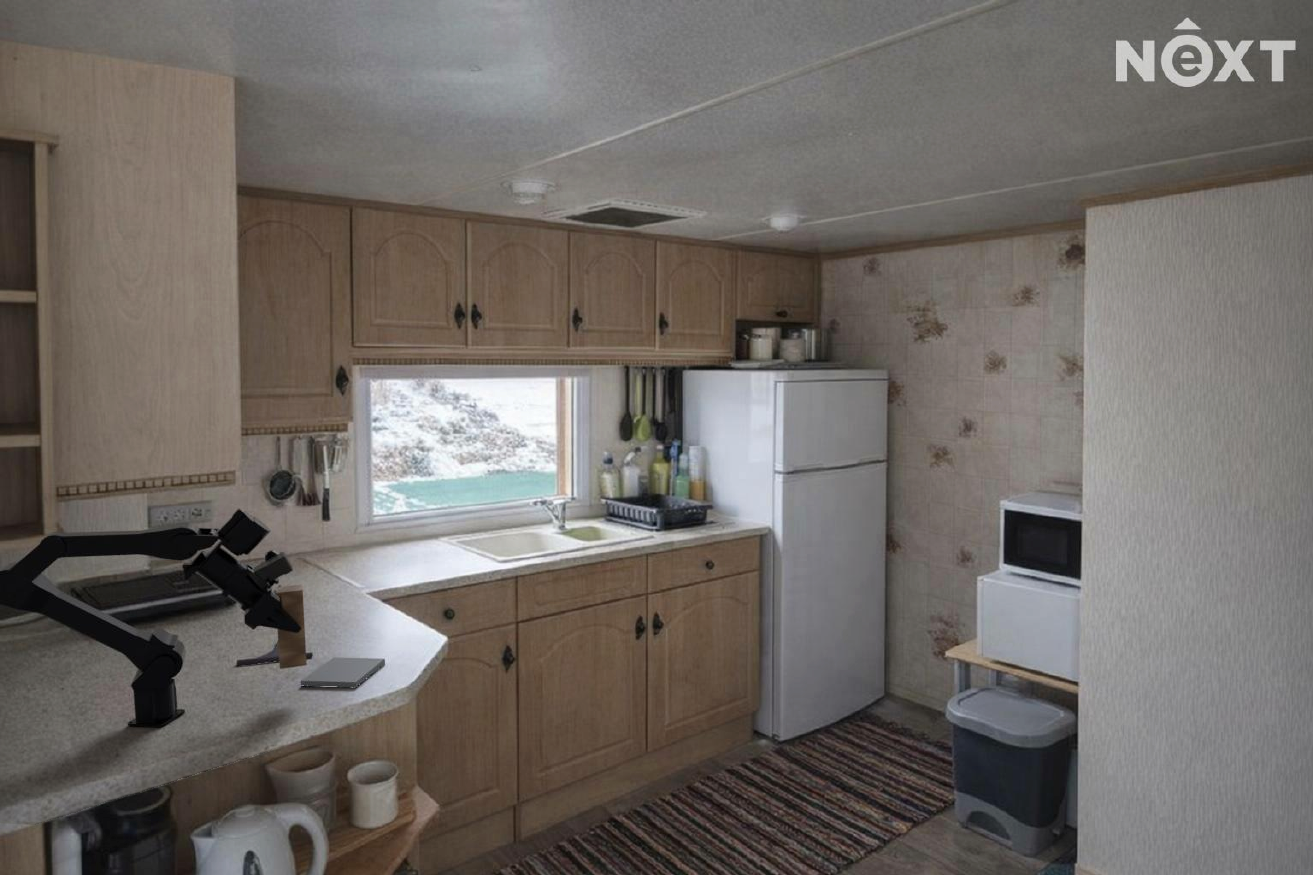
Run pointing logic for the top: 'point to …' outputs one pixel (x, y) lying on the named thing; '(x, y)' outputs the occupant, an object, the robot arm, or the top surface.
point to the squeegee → (266, 658)
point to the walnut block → (290, 642)
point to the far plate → (343, 672)
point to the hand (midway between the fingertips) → (299, 627)
